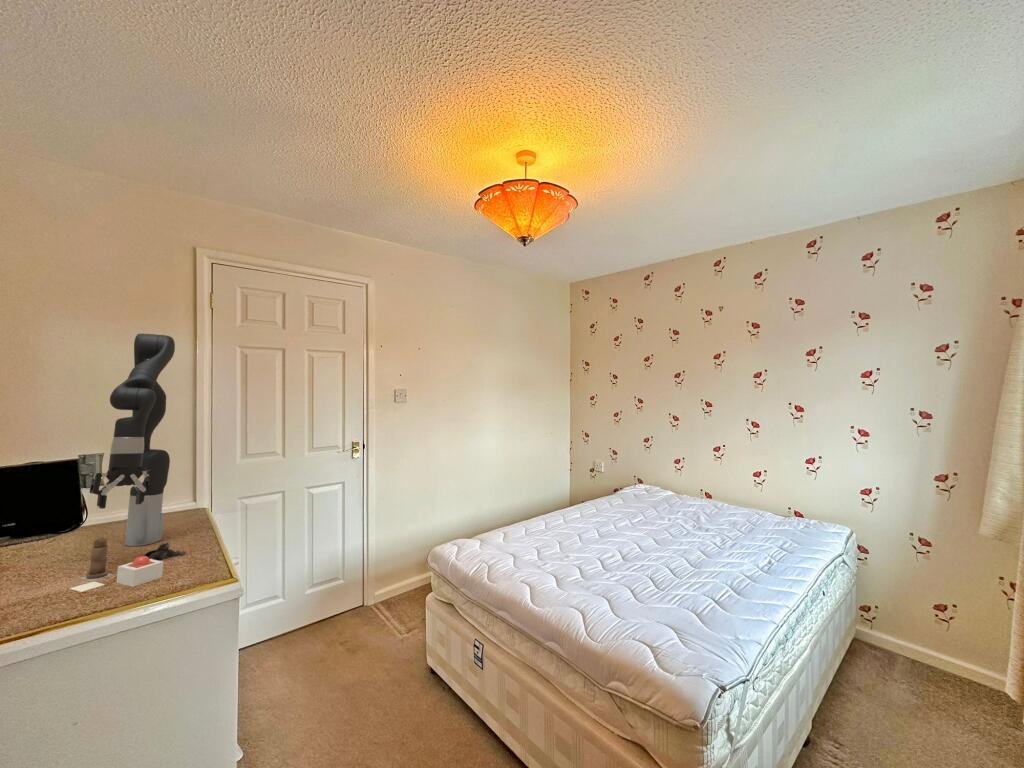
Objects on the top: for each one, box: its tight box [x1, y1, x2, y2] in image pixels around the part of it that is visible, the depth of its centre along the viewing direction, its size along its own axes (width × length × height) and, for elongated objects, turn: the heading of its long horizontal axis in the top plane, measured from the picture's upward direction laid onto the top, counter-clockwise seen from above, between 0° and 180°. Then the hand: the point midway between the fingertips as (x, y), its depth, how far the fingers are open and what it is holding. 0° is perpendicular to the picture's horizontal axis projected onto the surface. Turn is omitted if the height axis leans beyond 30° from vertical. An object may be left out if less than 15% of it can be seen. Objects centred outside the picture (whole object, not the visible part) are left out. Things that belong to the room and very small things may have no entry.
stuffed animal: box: [143, 542, 188, 567], centre depth 133 cm, size 12×10×12 cm
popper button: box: [131, 555, 151, 568], centre depth 117 cm, size 4×4×5 cm
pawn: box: [85, 536, 109, 580], centre depth 118 cm, size 4×4×11 cm
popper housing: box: [116, 559, 164, 588], centre depth 117 cm, size 7×7×4 cm
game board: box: [69, 572, 114, 593], centre depth 115 cm, size 14×20×1 cm
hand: (120, 506), depth 126 cm, fingers open, 8 cm apart
